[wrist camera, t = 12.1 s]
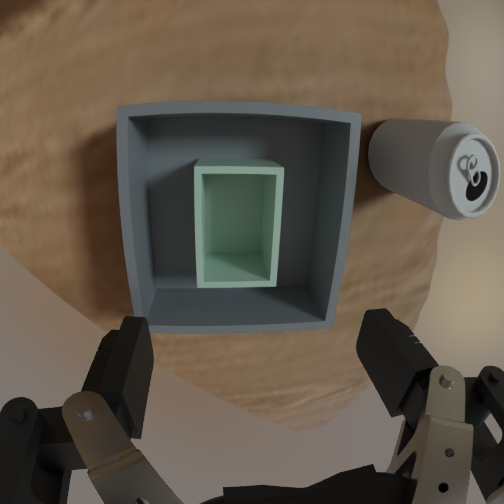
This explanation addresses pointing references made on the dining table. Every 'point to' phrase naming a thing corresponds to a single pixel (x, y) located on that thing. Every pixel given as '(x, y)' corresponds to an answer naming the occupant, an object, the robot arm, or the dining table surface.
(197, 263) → the small crate
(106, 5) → the dining table surface
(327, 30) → the dining table surface
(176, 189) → the big crate
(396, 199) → the dining table surface
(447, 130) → the can
